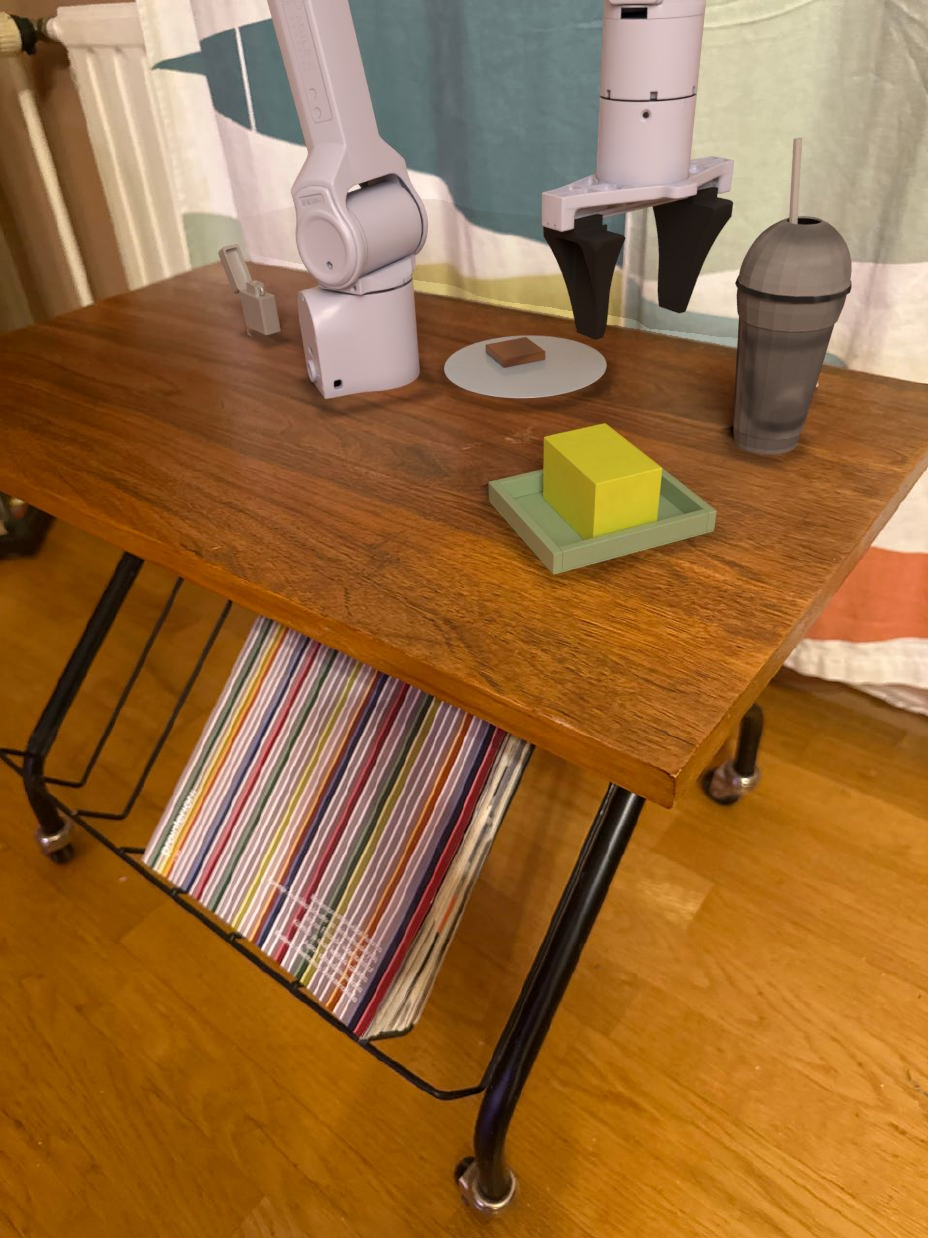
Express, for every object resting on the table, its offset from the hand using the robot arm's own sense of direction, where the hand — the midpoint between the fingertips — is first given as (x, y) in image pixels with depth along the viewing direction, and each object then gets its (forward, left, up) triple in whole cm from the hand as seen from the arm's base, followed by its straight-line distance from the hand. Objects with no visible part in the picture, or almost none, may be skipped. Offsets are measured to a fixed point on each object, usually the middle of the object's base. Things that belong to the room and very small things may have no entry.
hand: (632, 321), depth 62 cm
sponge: (-7, -9, -9) cm, 14 cm away
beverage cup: (+9, -5, -9) cm, 14 cm away
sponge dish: (-7, -9, -9) cm, 15 cm away
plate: (-1, +15, -9) cm, 17 cm away
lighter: (-20, +37, -9) cm, 43 cm away
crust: (-1, +17, -8) cm, 19 cm away
